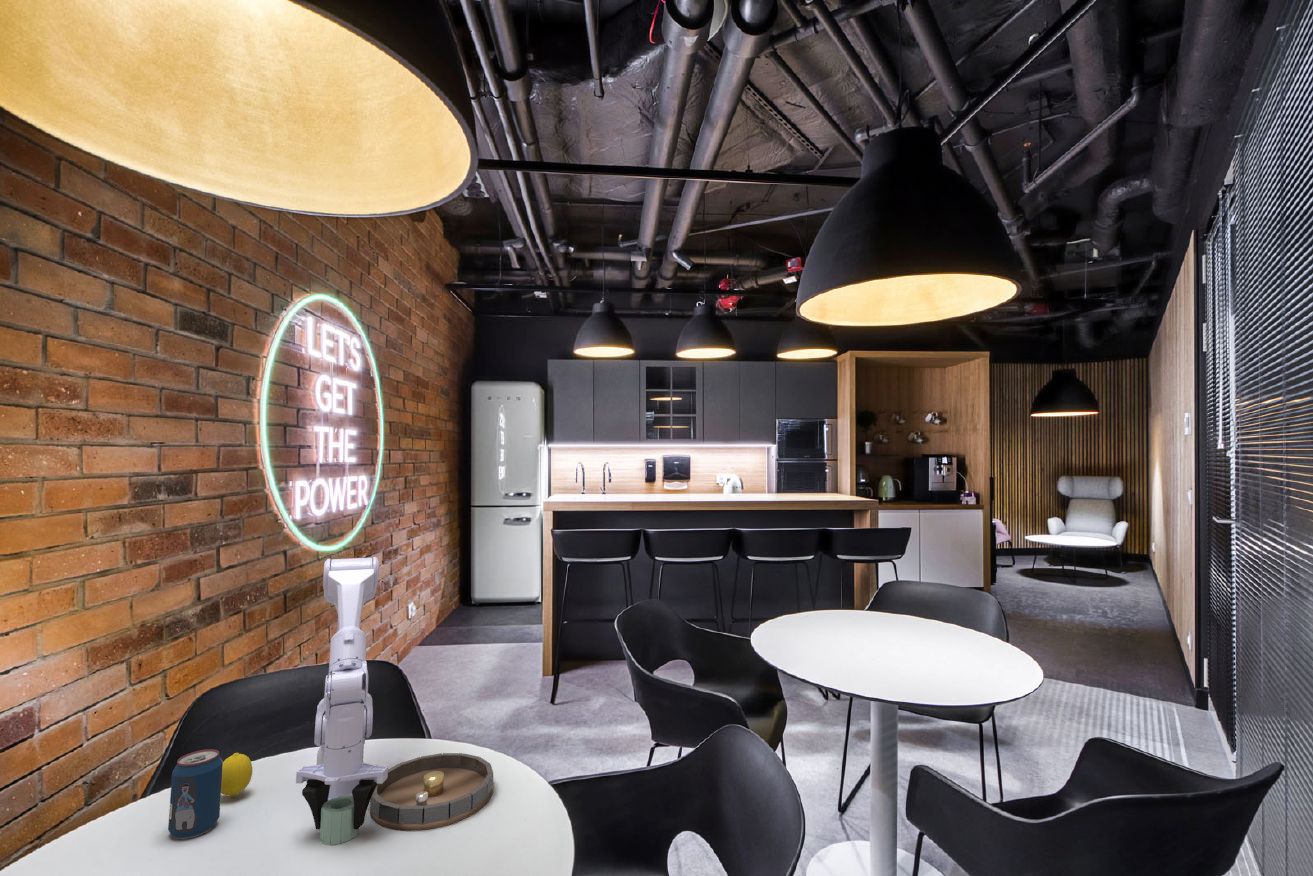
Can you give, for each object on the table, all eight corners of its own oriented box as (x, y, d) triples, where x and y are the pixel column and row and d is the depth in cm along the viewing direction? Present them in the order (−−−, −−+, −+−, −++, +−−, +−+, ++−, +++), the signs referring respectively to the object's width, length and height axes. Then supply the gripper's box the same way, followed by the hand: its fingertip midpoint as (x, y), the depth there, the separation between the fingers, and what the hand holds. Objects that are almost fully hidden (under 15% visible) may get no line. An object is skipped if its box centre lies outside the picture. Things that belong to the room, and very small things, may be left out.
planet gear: (315, 834, 100) (317, 803, 101) (351, 821, 104) (352, 791, 105) (326, 849, 96) (328, 816, 97) (363, 834, 100) (364, 803, 101)
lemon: (208, 801, 110) (211, 756, 111) (238, 787, 116) (241, 744, 116) (227, 807, 108) (230, 762, 109) (257, 793, 113) (260, 749, 114)
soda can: (215, 814, 106) (219, 744, 107) (222, 830, 101) (226, 756, 102) (165, 829, 101) (170, 756, 102) (170, 847, 96) (175, 770, 97)
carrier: (351, 797, 112) (352, 775, 112) (459, 760, 127) (459, 741, 128) (398, 846, 97) (399, 820, 97) (514, 798, 112) (514, 775, 113)
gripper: (286, 752, 97) (282, 839, 96) (375, 752, 97) (372, 840, 96) (311, 734, 104) (307, 815, 103) (394, 734, 105) (391, 816, 103)
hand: (339, 826), depth 100 cm, fingers closed on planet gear, 6 cm apart
